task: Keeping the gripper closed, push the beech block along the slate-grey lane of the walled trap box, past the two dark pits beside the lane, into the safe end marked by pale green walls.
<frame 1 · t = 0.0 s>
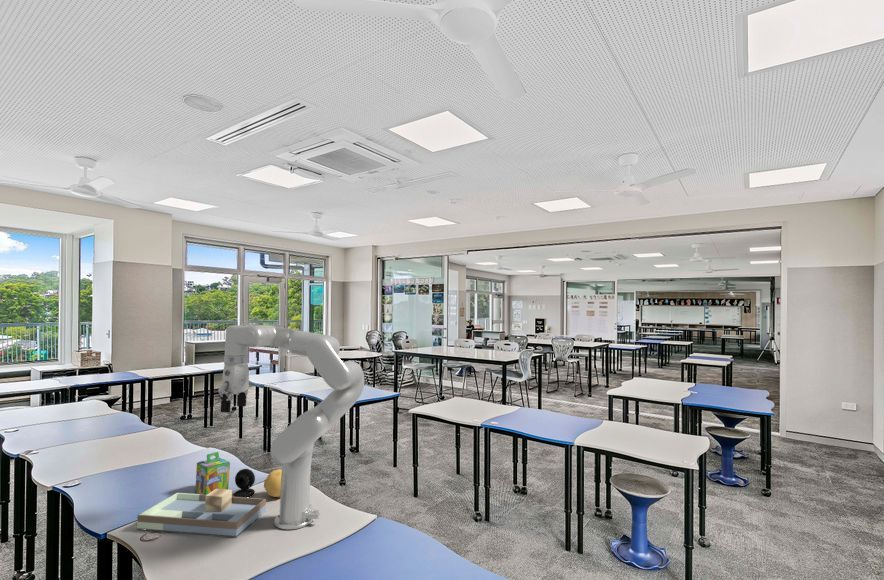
hand: (233, 409, 152), 37 cm above the table, tool pointing down, fingers open, 9 cm apart
chalk box: (211, 492, 169), on the table
trap box: (204, 520, 146), on the table
block: (218, 507, 150), point 2 cm above the table, touching trap box
webcam: (244, 495, 167), on the table
stress ball: (277, 496, 166), on the table
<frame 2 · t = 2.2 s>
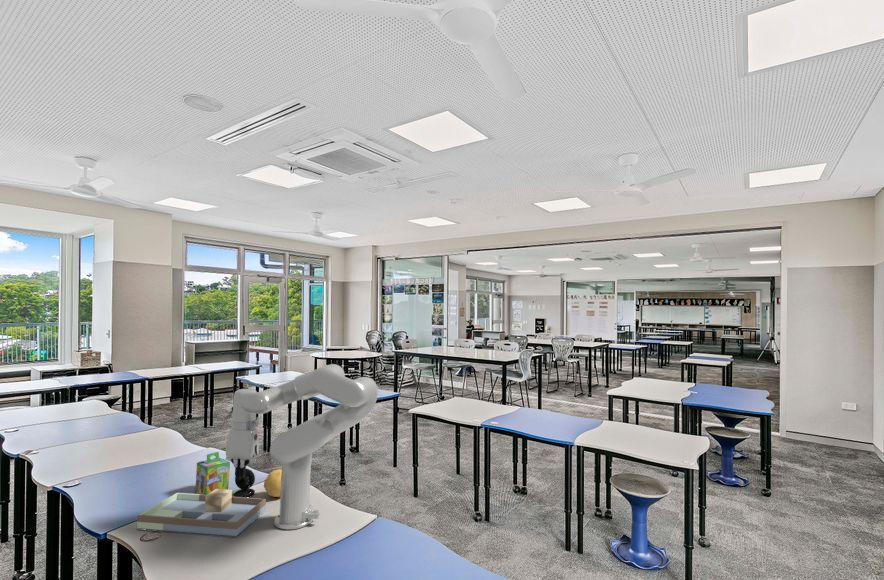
hand: (239, 478, 150), 13 cm above the table, tool pointing down, fingers closed
nothing on the table moved.
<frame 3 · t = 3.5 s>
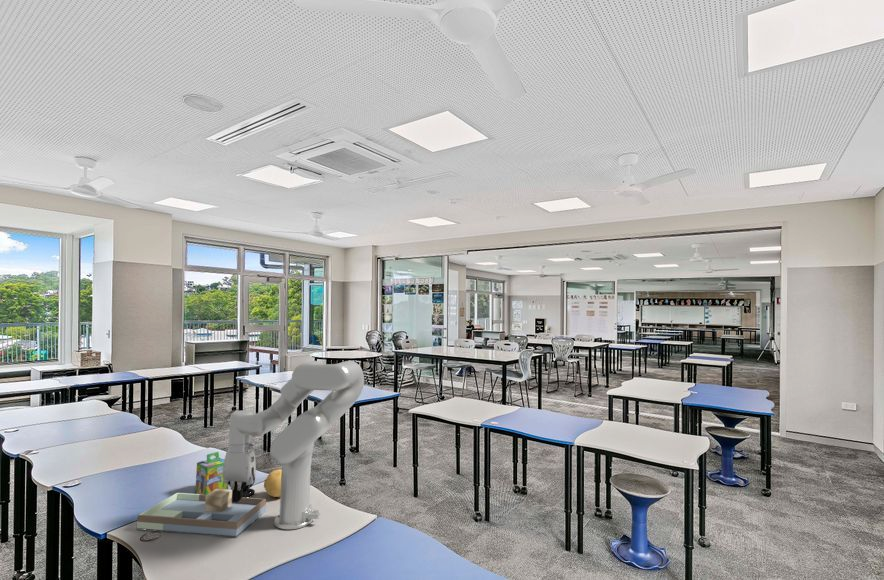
hand: (237, 500, 150), 5 cm above the table, tool pointing down, fingers closed
nothing on the table moved.
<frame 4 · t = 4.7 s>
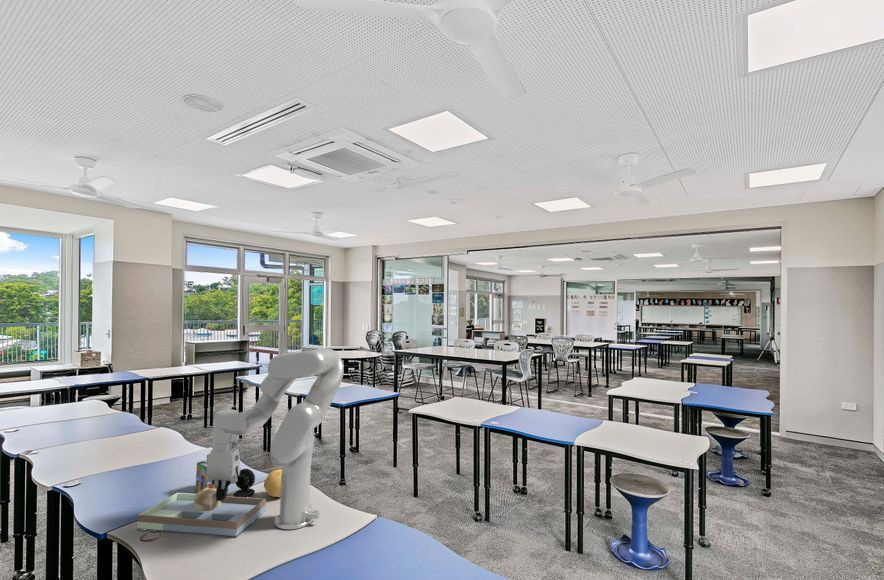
hand: (221, 499, 151), 5 cm above the table, tool pointing down, fingers closed
block: (207, 506, 151), point 2 cm above the table, touching trap box
everything else where it was.
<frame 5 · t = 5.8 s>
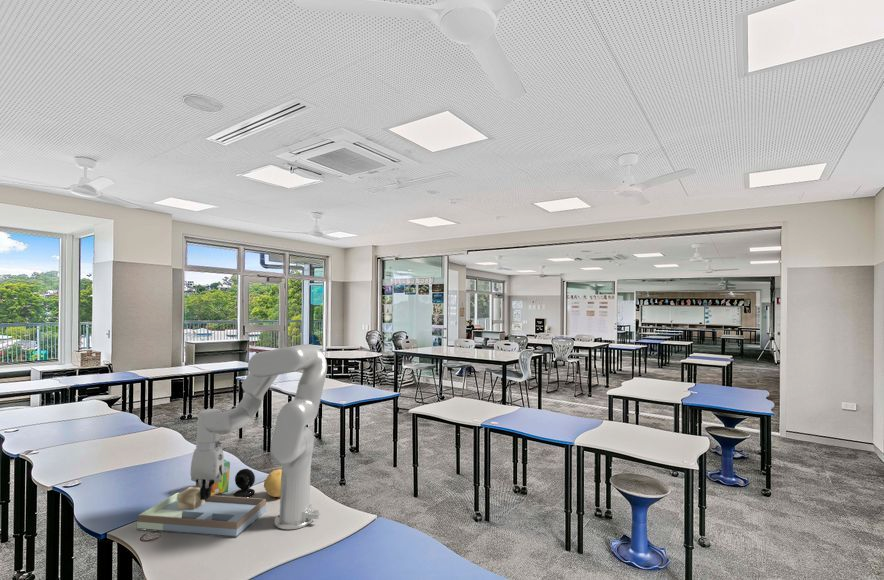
hand: (205, 498, 151), 5 cm above the table, tool pointing down, fingers closed
block: (191, 505, 152), point 3 cm above the table, touching trap box
everything else where it was.
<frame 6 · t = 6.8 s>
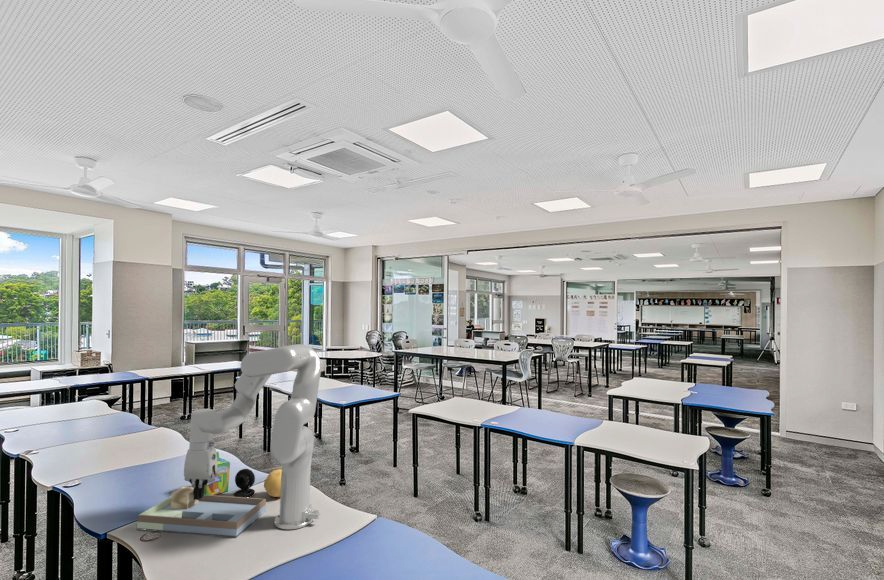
hand: (198, 498, 151), 5 cm above the table, tool pointing down, fingers closed
block: (184, 504, 152), point 2 cm above the table, touching trap box
everything else where it was.
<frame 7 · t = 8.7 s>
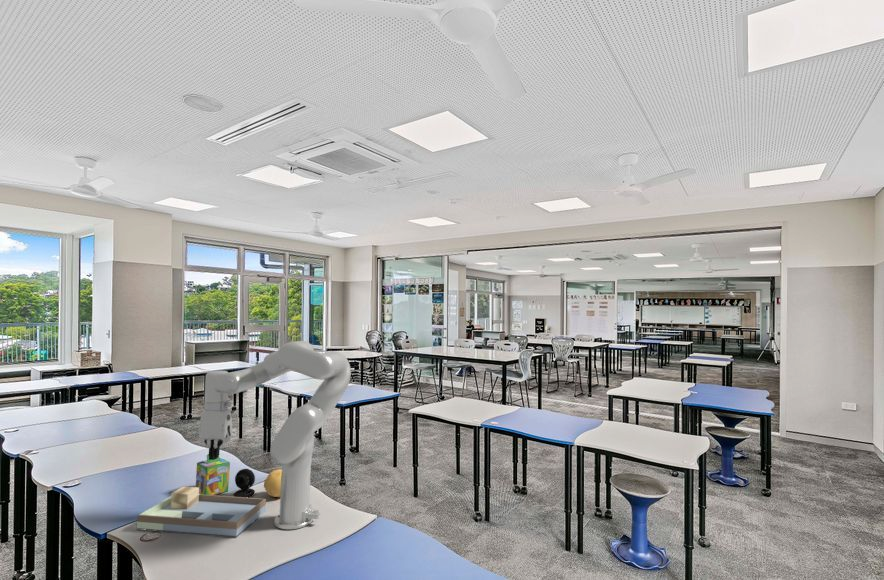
hand: (213, 458, 152), 19 cm above the table, tool pointing down, fingers closed
nothing on the table moved.
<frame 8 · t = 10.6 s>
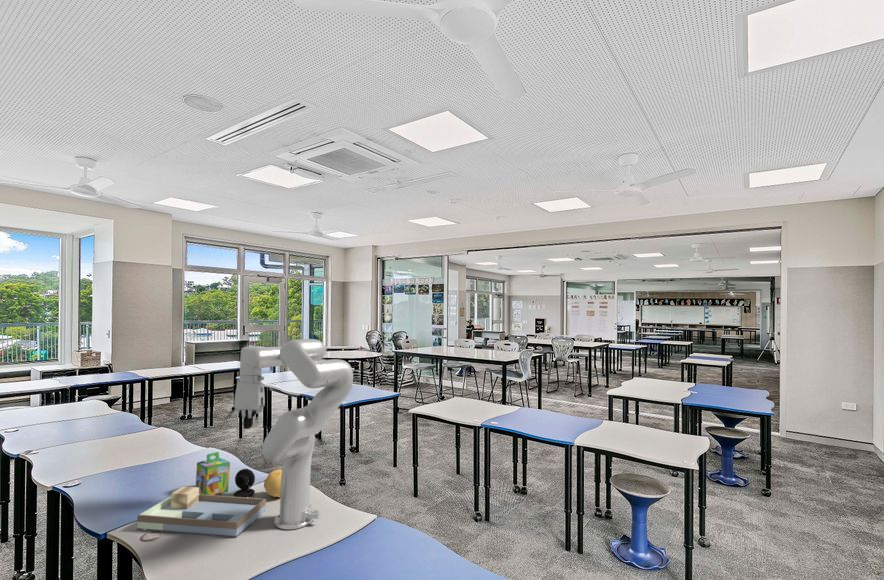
hand: (247, 427, 163), 27 cm above the table, tool pointing down, fingers closed
nothing on the table moved.
at the end: block inside the target area (1.6 cm from its centre), point 2.5 cm above the table; block tilted 0° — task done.
